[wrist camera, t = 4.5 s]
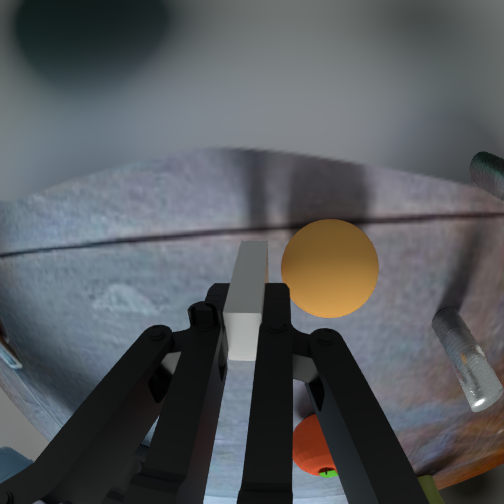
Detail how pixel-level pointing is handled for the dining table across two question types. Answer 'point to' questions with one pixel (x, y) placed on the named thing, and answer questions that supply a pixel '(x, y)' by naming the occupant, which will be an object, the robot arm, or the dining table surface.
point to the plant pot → (430, 489)
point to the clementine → (312, 449)
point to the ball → (330, 268)
